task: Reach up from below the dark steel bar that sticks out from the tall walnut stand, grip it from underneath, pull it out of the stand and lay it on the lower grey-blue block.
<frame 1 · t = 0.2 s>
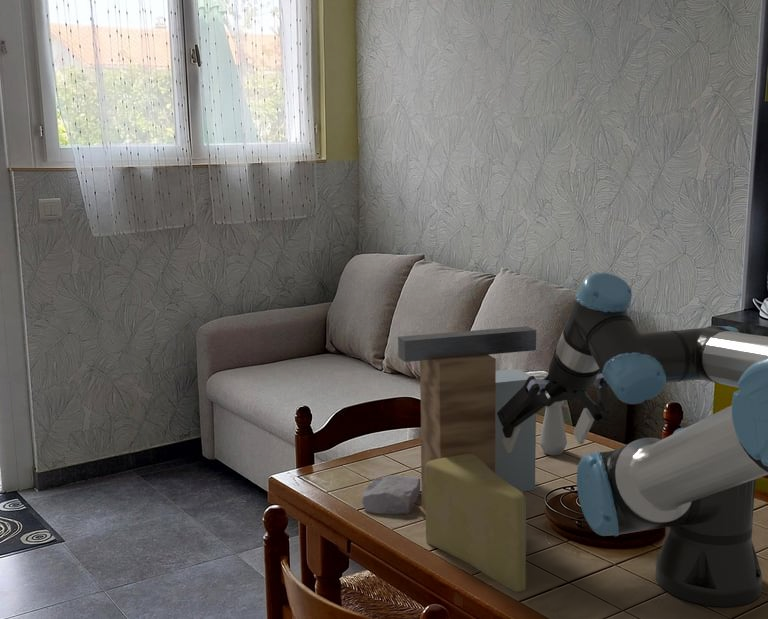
hand: (542, 442, 157), 14 cm above the table, tool tilted 35°, fingers open, 13 cm apart
steel bar: (467, 353, 156), point 30 cm above the table, touching walnut stand
cheese: (483, 565, 145), on the table, touching walnut stand
grey-blue block: (492, 486, 176), on the table
stone block: (390, 503, 170), on the table
walnut stand: (457, 519, 161), on the table
salt shaker: (552, 453, 195), on the table
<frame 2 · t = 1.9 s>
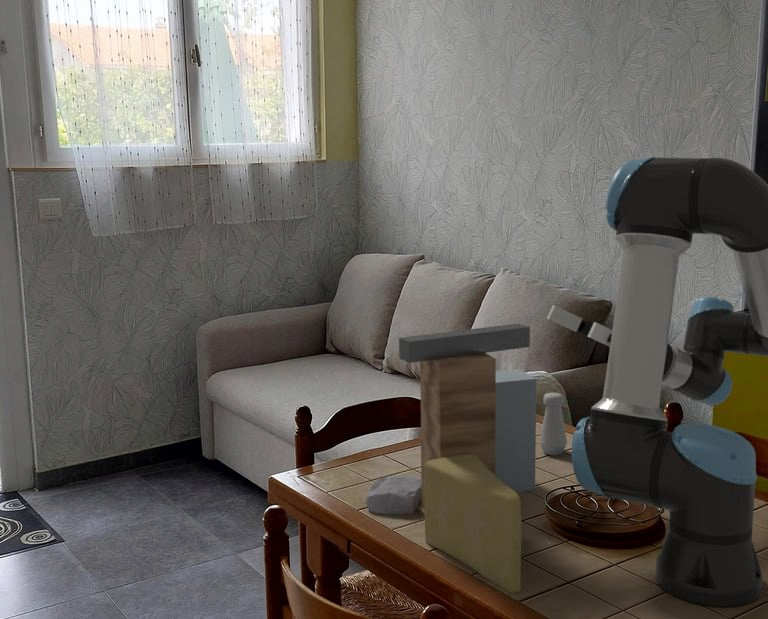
hand: (570, 320, 157), 35 cm above the table, tool pointing upward, fingers open, 13 cm apart
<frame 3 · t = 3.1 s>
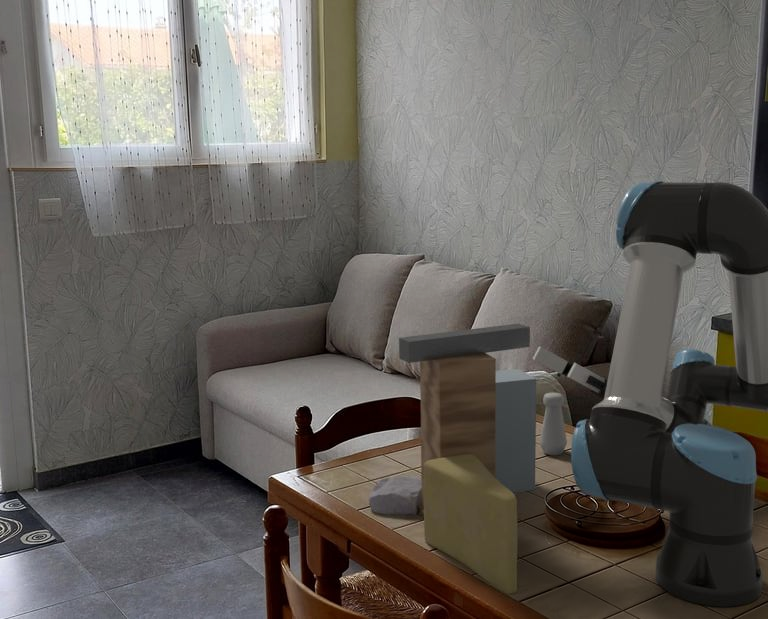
hand: (553, 360, 162), 27 cm above the table, tool pointing upward, fingers open, 13 cm apart
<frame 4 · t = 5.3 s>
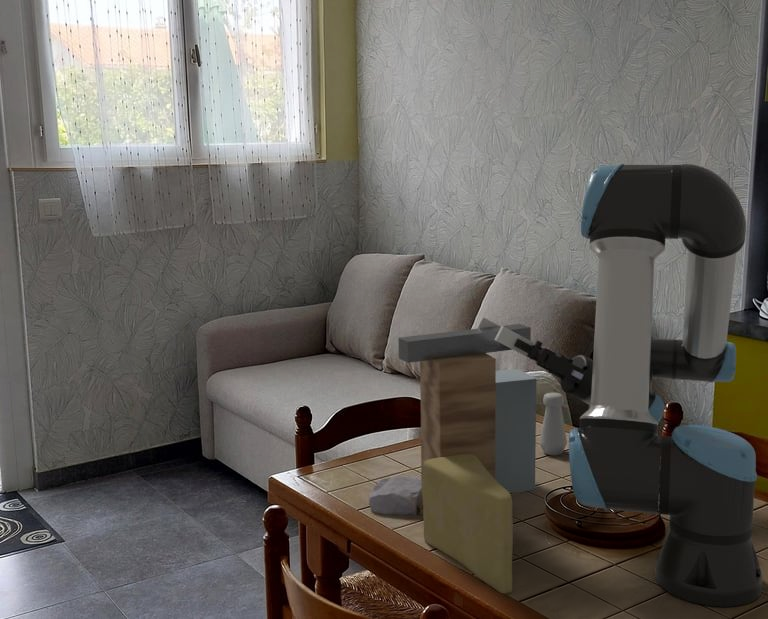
hand: (488, 328, 157), 34 cm above the table, tool pointing upward, fingers open, 8 cm apart
steel bar: (465, 352, 157), point 30 cm above the table, touching gripper, walnut stand
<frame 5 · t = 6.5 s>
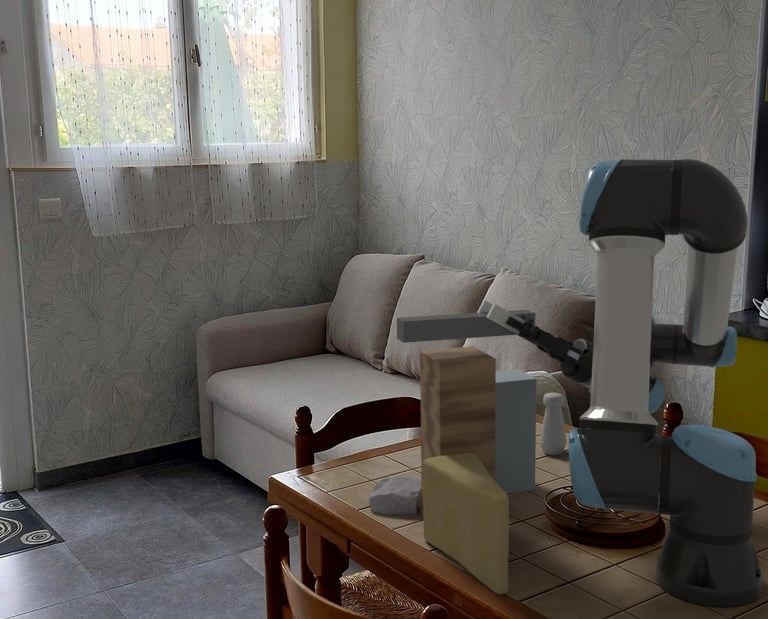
hand: (485, 308, 156), 38 cm above the table, tool pointing upward, fingers closed on steel bar, 4 cm apart
steel bar: (466, 336, 156), point 33 cm above the table, touching gripper
cheese: (474, 565, 144), on the table
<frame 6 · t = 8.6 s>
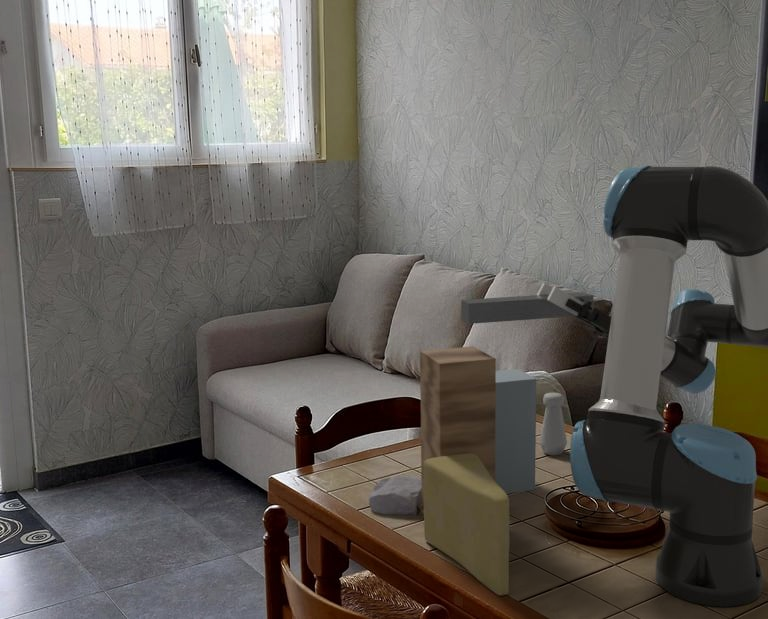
hand: (546, 291, 163), 39 cm above the table, tool pointing upward, fingers closed on steel bar, 4 cm apart
steel bar: (527, 317, 163), point 35 cm above the table, touching gripper
when the fingers open (28 cm above the table, at t = 11.4 s): steel bar drops 2 cm, resting on grey-blue block.
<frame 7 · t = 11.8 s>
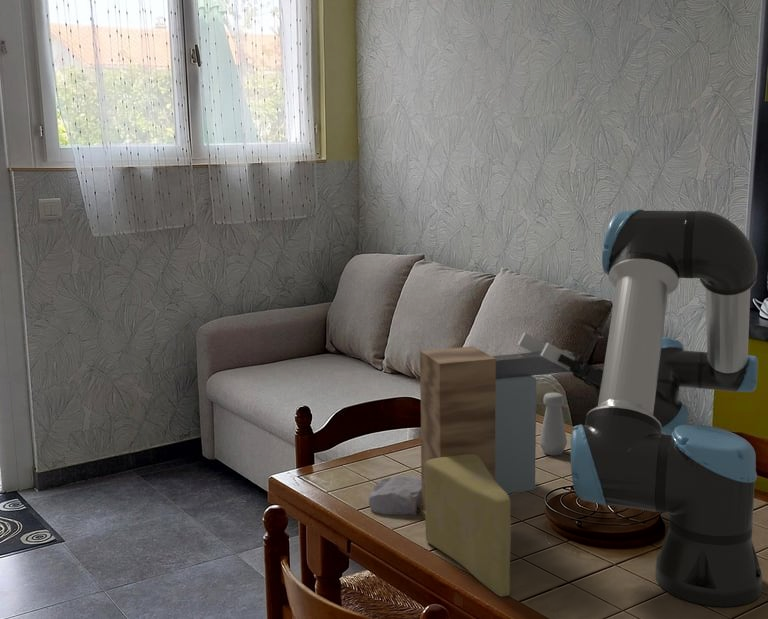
hand: (532, 343, 173), 28 cm above the table, tool pointing upward, fingers open, 9 cm apart
steel bar: (512, 375, 173), point 22 cm above the table, touching grey-blue block
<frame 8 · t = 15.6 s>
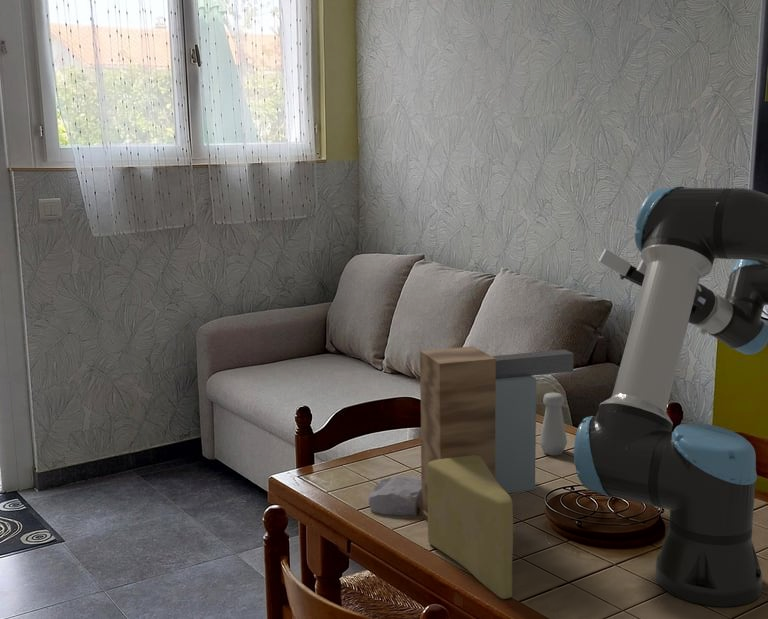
hand: (620, 259, 171), 44 cm above the table, tool pointing upward, fingers open, 13 cm apart
at the end: steel bar inside the target area (0.1 cm from its centre), point 22.0 cm above the table; the gripper is holding nothing; steel bar touching grey-blue block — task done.
